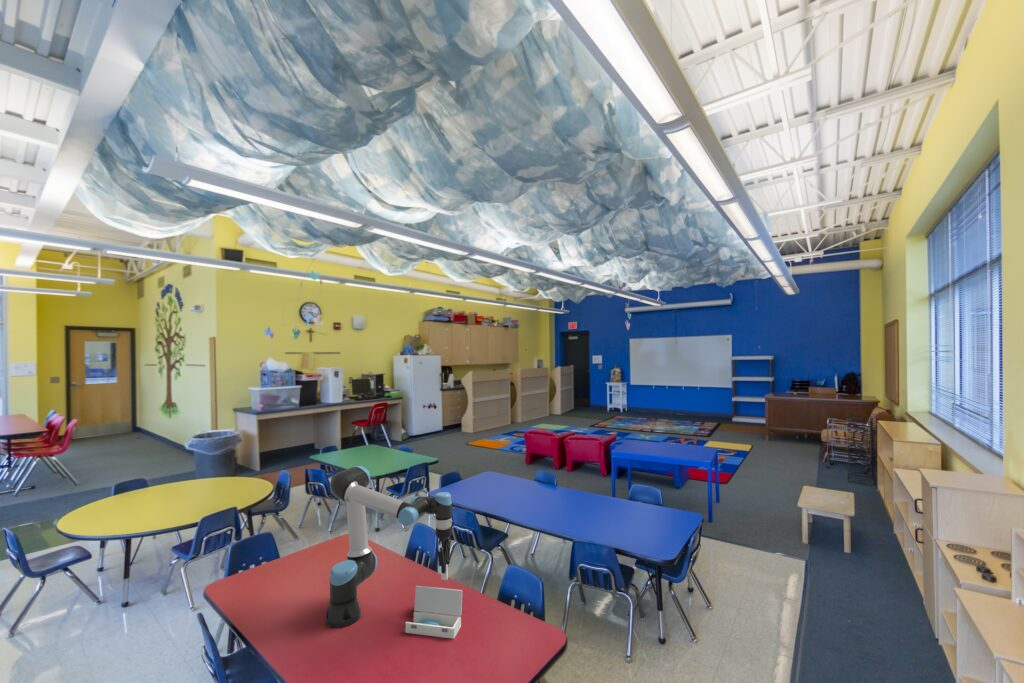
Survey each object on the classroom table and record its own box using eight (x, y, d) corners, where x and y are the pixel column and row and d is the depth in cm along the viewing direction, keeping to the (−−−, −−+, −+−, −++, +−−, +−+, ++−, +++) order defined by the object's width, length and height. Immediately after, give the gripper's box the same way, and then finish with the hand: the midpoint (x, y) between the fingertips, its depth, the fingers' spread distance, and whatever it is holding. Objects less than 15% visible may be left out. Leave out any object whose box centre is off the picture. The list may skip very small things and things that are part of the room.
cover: (415, 586, 197) (417, 585, 198) (414, 610, 195) (415, 609, 196) (461, 590, 192) (462, 589, 194) (460, 615, 190) (461, 614, 191)
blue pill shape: (416, 628, 189) (417, 620, 189) (419, 626, 191) (420, 618, 192) (437, 632, 186) (438, 624, 187) (440, 629, 189) (441, 621, 189)
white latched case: (404, 633, 185) (404, 623, 186) (414, 620, 195) (414, 611, 195) (453, 639, 181) (453, 629, 181) (461, 626, 190) (461, 616, 190)
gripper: (446, 532, 195) (447, 586, 194) (456, 522, 208) (457, 573, 207) (430, 531, 197) (431, 585, 196) (441, 521, 210) (442, 572, 208)
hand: (444, 579), depth 201 cm, fingers closed
